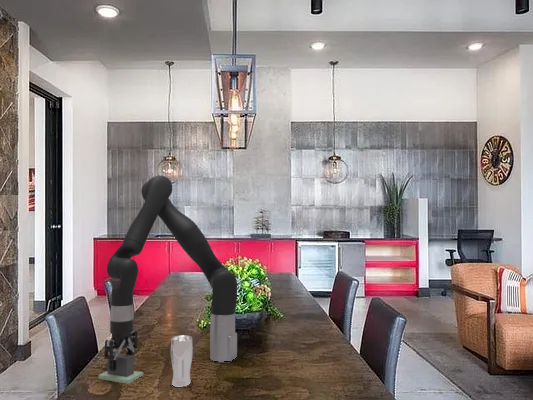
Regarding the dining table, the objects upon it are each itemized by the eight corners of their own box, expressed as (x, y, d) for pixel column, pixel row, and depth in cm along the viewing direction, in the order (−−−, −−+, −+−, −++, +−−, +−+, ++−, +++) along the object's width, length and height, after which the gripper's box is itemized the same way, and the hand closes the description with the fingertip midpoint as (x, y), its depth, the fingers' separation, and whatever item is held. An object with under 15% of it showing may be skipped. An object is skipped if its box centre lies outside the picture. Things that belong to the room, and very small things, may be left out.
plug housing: (133, 373, 165) (133, 355, 165) (126, 377, 162) (127, 358, 162) (114, 370, 168) (114, 352, 168) (107, 373, 164) (107, 355, 164)
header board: (143, 376, 166) (143, 361, 166) (128, 383, 159) (128, 369, 159) (114, 371, 171) (114, 357, 171) (98, 378, 163) (98, 364, 163)
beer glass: (193, 381, 162) (194, 335, 162) (191, 388, 155) (191, 340, 155) (172, 381, 162) (172, 335, 162) (168, 389, 155) (169, 340, 155)
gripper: (117, 323, 157) (116, 375, 157) (144, 314, 170) (143, 362, 170) (98, 321, 159) (97, 372, 159) (126, 312, 173) (125, 359, 173)
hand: (121, 366), depth 165 cm, fingers open, 8 cm apart
